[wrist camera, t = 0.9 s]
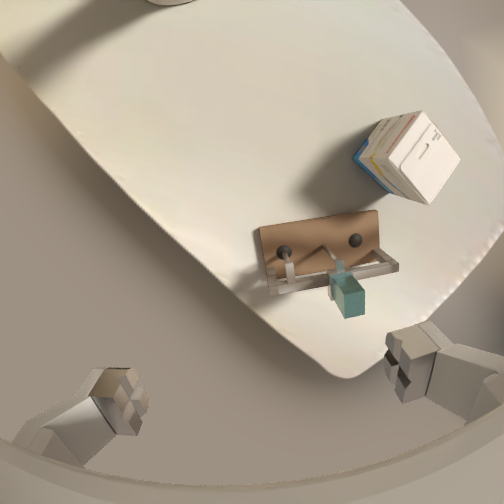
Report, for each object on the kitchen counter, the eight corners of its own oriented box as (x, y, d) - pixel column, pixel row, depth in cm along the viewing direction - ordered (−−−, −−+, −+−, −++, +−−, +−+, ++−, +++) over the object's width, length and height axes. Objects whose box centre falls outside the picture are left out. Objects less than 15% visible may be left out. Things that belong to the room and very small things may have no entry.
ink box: (389, 194, 41) (429, 208, 30) (350, 158, 39) (385, 160, 28) (418, 155, 38) (463, 158, 27) (382, 117, 37) (422, 108, 26)
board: (259, 227, 42) (260, 242, 35) (374, 209, 41) (398, 220, 34) (267, 277, 45) (270, 301, 37) (376, 258, 44) (398, 277, 36)
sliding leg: (314, 243, 41) (340, 280, 29) (334, 240, 41) (367, 275, 29) (317, 275, 43) (341, 321, 30) (336, 271, 43) (367, 316, 30)
